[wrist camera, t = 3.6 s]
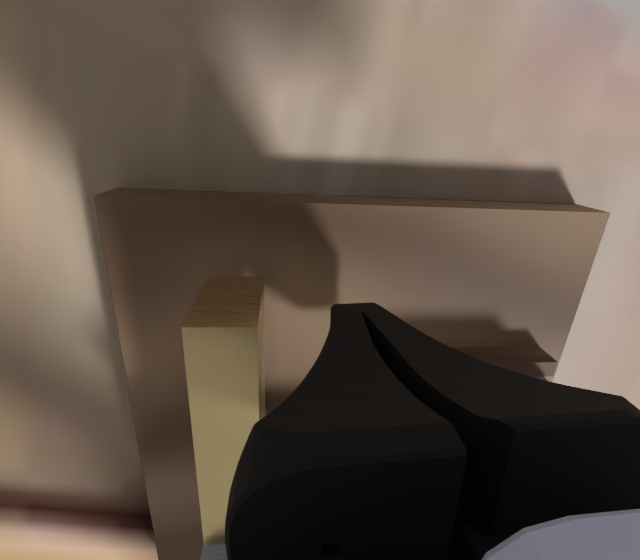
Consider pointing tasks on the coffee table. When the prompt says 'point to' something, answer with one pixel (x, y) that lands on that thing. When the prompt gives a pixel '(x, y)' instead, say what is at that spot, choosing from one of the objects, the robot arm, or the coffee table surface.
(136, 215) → the brown board
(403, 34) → the coffee table surface
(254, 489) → the robot arm
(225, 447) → the wooden bar
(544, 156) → the coffee table surface
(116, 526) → the coffee table surface
